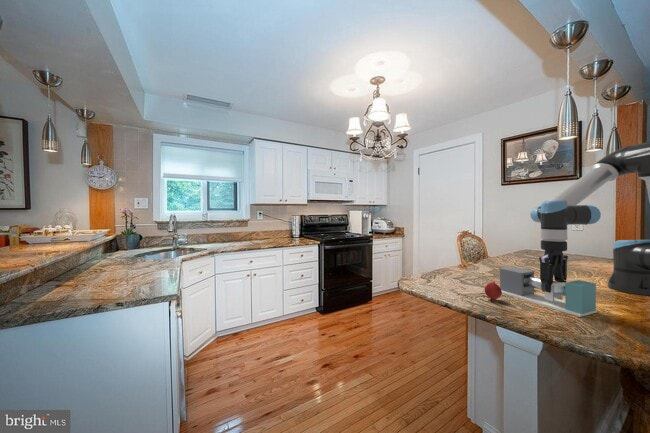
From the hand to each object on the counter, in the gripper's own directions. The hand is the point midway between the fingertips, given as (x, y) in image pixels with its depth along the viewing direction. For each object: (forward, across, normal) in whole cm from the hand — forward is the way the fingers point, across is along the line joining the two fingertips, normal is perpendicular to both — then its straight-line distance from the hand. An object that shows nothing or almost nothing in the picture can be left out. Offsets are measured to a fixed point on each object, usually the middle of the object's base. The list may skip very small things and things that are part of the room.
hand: (553, 299), depth 94 cm
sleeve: (+2, 0, -13) cm, 14 cm away
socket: (+2, 0, +8) cm, 8 cm away
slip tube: (-2, 0, -4) cm, 4 cm away
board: (+2, 0, -4) cm, 4 cm away
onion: (+2, +17, -12) cm, 21 cm away
